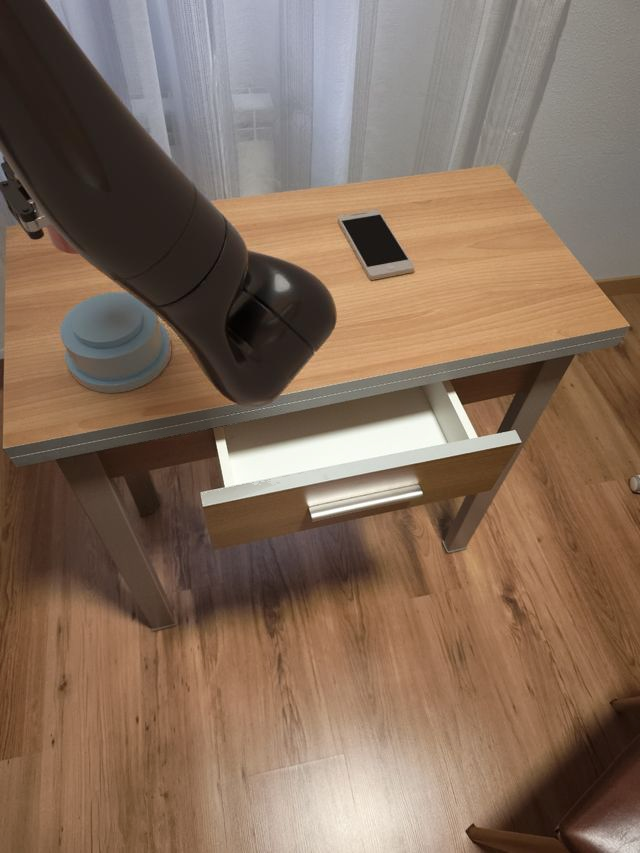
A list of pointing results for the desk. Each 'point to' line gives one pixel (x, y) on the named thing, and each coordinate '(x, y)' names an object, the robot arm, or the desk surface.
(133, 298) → the blue stepped cylinder
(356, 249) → the smartphone
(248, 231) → the desk surface
